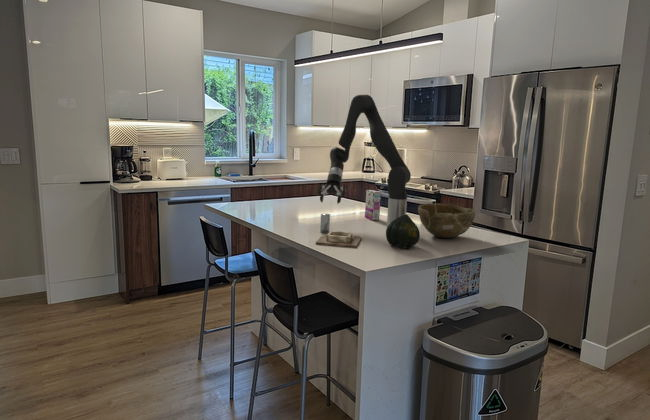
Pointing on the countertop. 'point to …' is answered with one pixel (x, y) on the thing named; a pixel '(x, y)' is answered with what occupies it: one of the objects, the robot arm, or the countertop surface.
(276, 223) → the countertop surface
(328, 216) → the steel cylinder
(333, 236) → the socket board
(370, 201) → the candy bar box
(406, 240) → the squash
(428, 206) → the bowl
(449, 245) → the countertop surface
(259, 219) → the countertop surface
